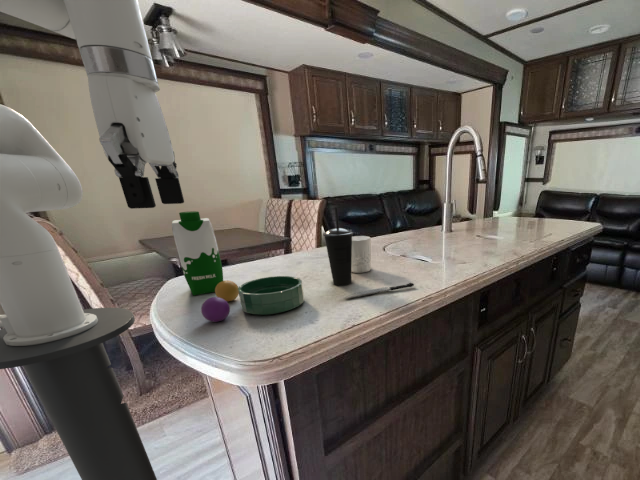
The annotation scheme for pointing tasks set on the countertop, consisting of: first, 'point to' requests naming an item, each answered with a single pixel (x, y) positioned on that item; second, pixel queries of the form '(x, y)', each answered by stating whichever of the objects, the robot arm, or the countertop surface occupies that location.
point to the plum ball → (215, 309)
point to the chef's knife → (379, 290)
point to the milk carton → (197, 252)
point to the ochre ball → (227, 290)
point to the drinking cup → (339, 253)
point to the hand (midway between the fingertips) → (159, 205)
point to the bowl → (271, 295)
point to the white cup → (361, 254)
